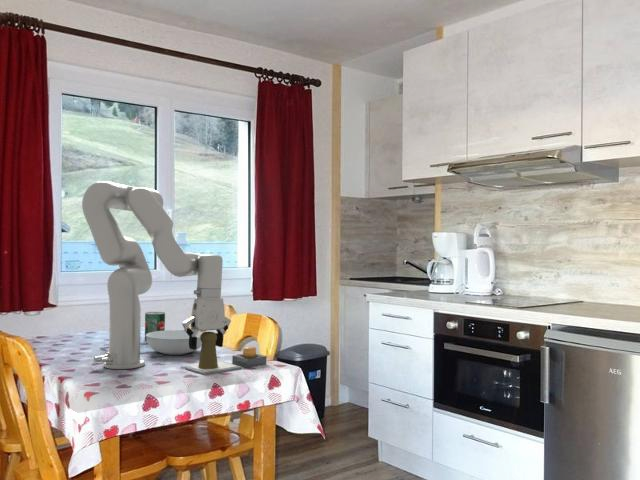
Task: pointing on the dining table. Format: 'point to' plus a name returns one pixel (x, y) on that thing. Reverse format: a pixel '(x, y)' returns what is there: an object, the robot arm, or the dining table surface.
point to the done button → (249, 352)
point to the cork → (208, 351)
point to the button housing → (249, 360)
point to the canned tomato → (154, 322)
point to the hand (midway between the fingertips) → (206, 347)
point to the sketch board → (221, 368)
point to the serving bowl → (171, 342)
